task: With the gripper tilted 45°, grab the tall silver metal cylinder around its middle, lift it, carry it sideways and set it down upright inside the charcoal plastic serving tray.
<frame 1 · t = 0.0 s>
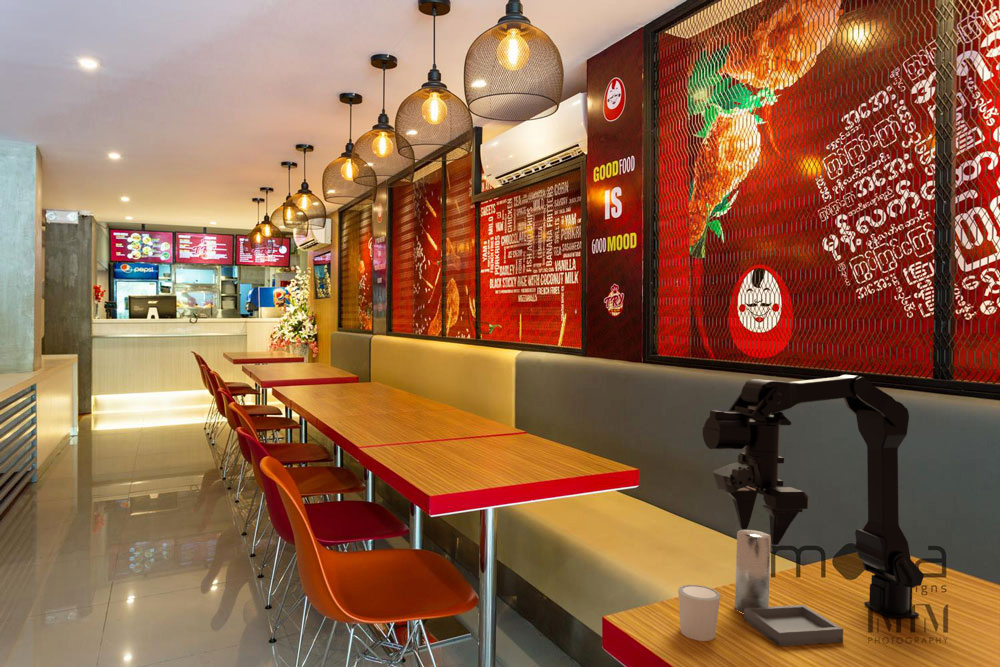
hand: (758, 536, 115), 15 cm above the table, tool pointing down, fingers open, 9 cm apart
white cup: (697, 634, 108), on the table
tray: (791, 630, 111), on the table
silver metal cylinder: (751, 610, 119), on the table
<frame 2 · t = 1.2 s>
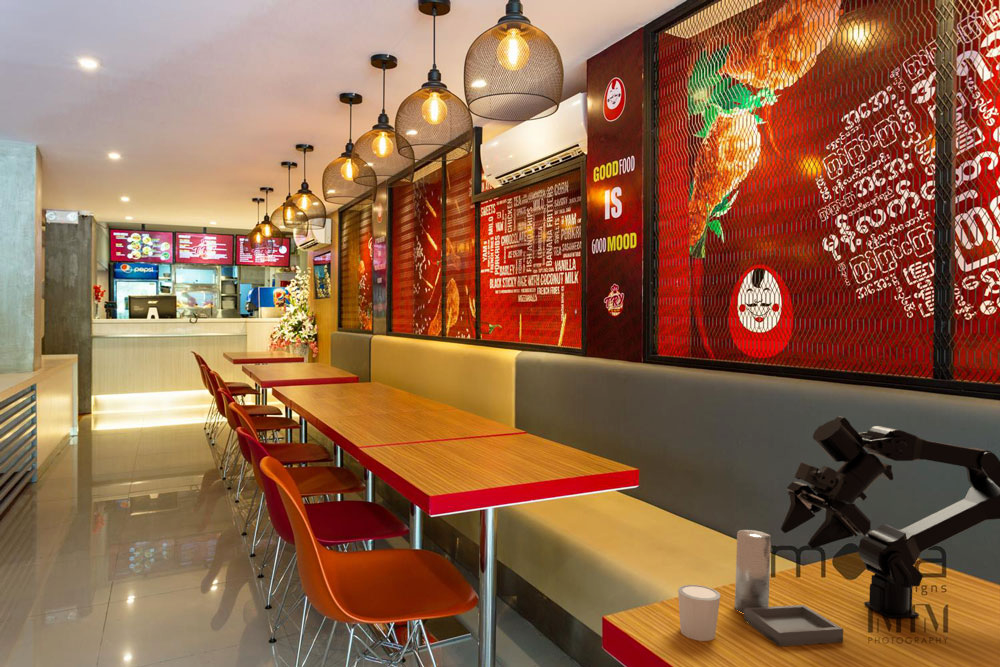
hand: (795, 538, 120), 13 cm above the table, tool tilted 45°, fingers open, 9 cm apart
nothing on the table moved.
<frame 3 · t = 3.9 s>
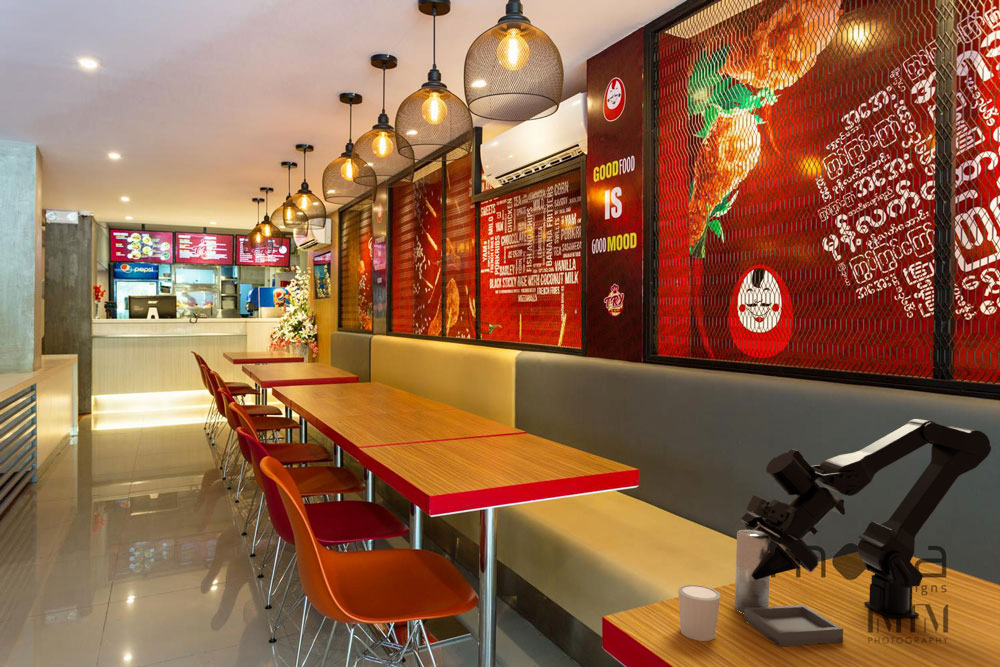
hand: (745, 571, 119), 7 cm above the table, tool tilted 45°, fingers closed on silver metal cylinder, 6 cm apart
silver metal cylinder: (751, 610, 119), on the table, touching gripper
everything else where it was.
when the fingers open (9 cm above the table, at t = 7.8 s): silver metal cylinder stays where it is, resting on tray.
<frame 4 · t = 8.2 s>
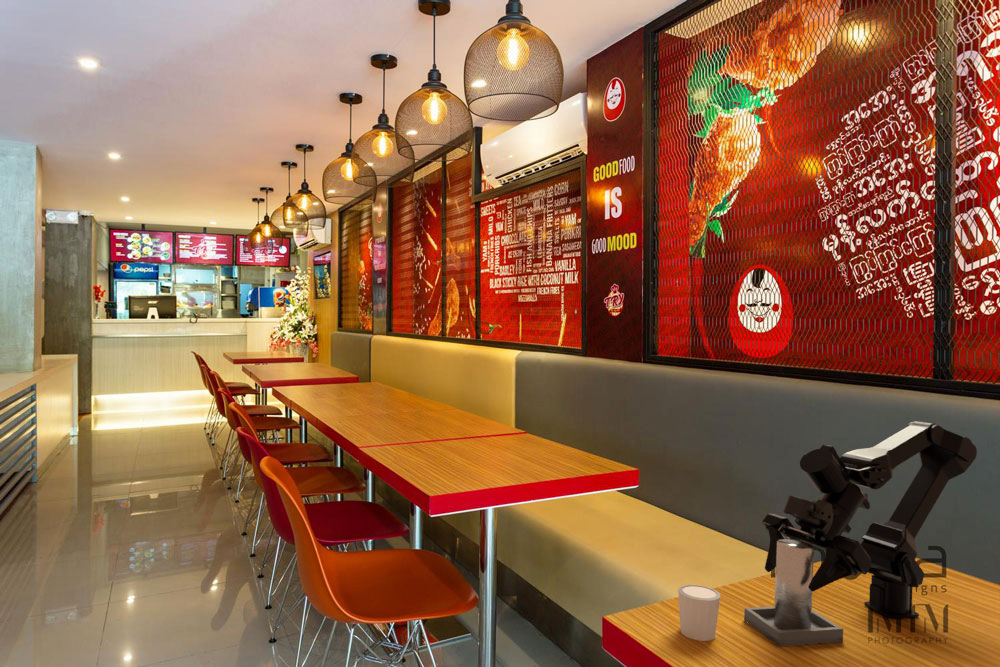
hand: (787, 579, 110), 9 cm above the table, tool tilted 45°, fingers open, 9 cm apart
silver metal cylinder: (792, 626, 111), point 1 cm above the table, touching tray
everything else where it was.
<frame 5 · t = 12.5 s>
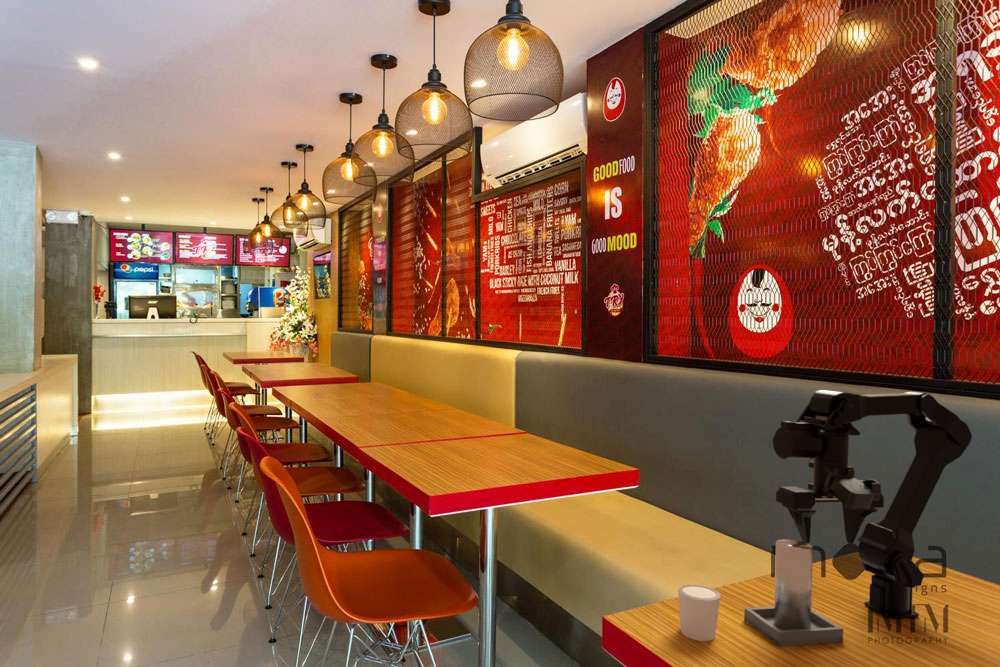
hand: (828, 543, 118), 13 cm above the table, tool pointing down, fingers open, 9 cm apart
nothing on the table moved.
at the end: silver metal cylinder 0.1 cm off-centre on the tray, point 0.8 cm above the tray's base; silver metal cylinder tilted 1°; the gripper is holding nothing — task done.
